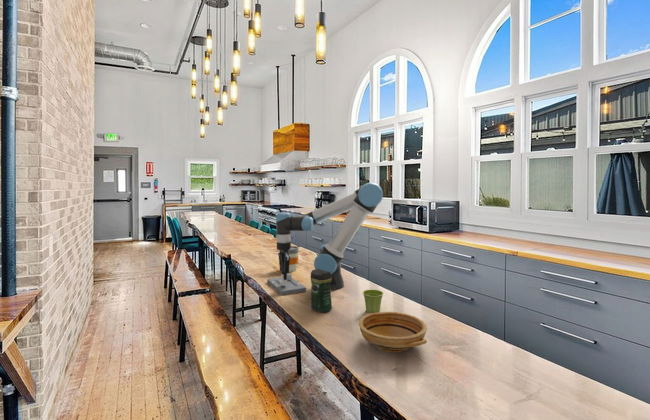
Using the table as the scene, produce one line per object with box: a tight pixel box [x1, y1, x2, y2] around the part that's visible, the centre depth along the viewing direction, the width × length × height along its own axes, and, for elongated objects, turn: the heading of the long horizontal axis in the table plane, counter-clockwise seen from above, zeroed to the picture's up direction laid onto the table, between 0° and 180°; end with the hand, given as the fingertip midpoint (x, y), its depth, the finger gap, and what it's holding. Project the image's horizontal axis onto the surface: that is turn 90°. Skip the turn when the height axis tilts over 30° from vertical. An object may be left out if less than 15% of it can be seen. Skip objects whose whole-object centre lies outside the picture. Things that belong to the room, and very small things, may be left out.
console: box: [266, 276, 307, 296], centre depth 202 cm, size 26×14×2 cm, turn 25°
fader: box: [287, 272, 293, 280], centre depth 208 cm, size 2×3×3 cm, turn 115°
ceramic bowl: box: [358, 311, 428, 353], centre depth 130 cm, size 30×24×8 cm
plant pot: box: [362, 289, 384, 314], centre depth 163 cm, size 9×9×9 cm
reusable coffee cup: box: [288, 245, 299, 273], centre depth 238 cm, size 13×13×15 cm
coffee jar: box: [309, 268, 332, 313], centre depth 166 cm, size 10×8×19 cm
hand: (284, 285), depth 193 cm, fingers closed
